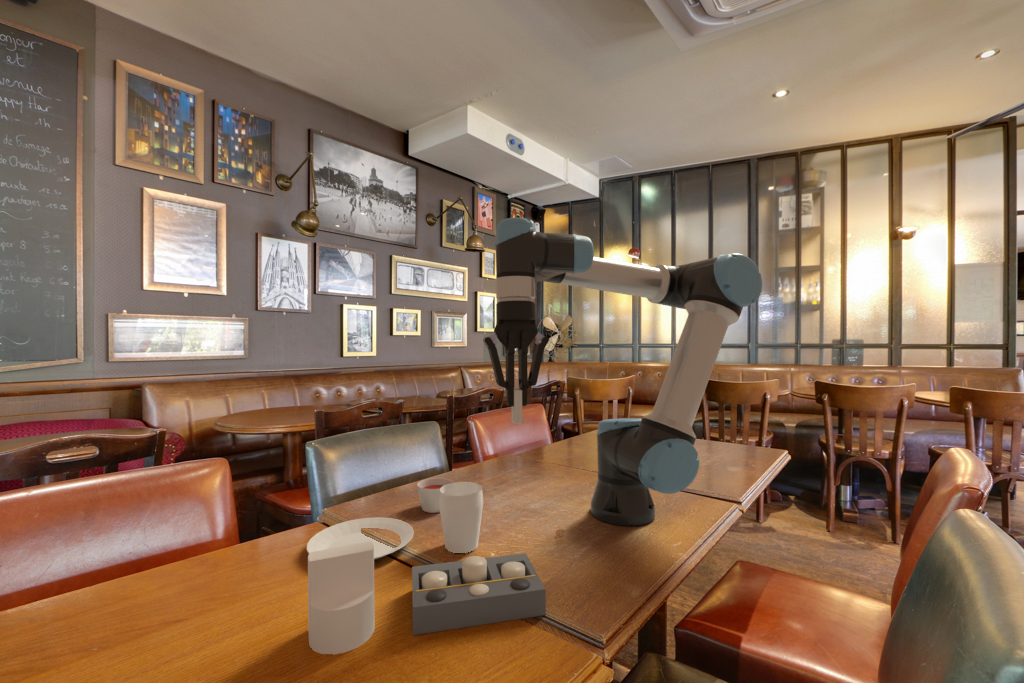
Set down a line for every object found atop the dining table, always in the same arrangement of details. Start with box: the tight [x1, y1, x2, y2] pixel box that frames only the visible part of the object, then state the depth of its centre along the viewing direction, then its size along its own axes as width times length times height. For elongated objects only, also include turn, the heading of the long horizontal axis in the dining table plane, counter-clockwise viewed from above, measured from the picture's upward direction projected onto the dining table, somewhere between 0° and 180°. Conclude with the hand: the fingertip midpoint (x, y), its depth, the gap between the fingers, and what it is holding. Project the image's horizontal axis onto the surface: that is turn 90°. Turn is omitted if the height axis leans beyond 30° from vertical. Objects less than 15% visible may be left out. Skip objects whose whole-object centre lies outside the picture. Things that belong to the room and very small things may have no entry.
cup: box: [439, 481, 484, 554], centre depth 92 cm, size 9×9×12 cm
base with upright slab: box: [307, 541, 376, 655], centre depth 65 cm, size 9×9×12 cm
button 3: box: [422, 571, 447, 589], centre depth 72 cm, size 4×4×4 cm
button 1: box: [501, 562, 525, 579], centre depth 75 cm, size 4×4×4 cm
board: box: [411, 552, 547, 636], centre depth 73 cm, size 20×12×4 cm, turn 103°
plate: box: [306, 516, 415, 561], centre depth 93 cm, size 21×21×2 cm
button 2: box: [462, 555, 487, 584], centre depth 74 cm, size 4×4×4 cm
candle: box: [416, 477, 454, 514], centre depth 114 cm, size 9×9×6 cm
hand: (516, 423), depth 87 cm, fingers closed
